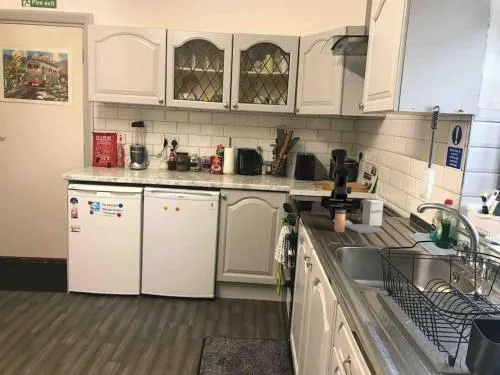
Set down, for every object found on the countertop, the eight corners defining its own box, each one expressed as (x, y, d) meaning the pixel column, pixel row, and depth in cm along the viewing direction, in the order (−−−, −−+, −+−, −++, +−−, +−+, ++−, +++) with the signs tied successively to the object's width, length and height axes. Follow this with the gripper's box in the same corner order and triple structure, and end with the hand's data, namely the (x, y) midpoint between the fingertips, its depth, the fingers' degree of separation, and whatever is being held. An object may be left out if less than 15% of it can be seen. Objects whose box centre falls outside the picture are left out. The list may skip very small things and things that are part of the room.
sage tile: (333, 221, 229) (333, 219, 229) (348, 222, 230) (348, 220, 230) (336, 224, 222) (336, 222, 221) (352, 225, 222) (352, 223, 222)
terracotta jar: (333, 229, 210) (334, 209, 209) (342, 230, 210) (344, 209, 209) (335, 232, 205) (336, 211, 204) (345, 232, 205) (347, 211, 204)
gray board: (342, 226, 218) (342, 224, 218) (366, 225, 223) (366, 224, 223) (358, 233, 205) (358, 231, 205) (383, 232, 210) (383, 230, 210)
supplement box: (368, 226, 222) (370, 201, 220) (361, 223, 229) (363, 199, 227) (381, 226, 224) (383, 201, 222) (373, 222, 231) (375, 199, 229)
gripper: (322, 179, 210) (321, 205, 201) (362, 181, 208) (363, 208, 198) (320, 193, 219) (319, 219, 209) (359, 195, 216) (359, 221, 207)
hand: (340, 216), depth 206 cm, fingers open, 9 cm apart
